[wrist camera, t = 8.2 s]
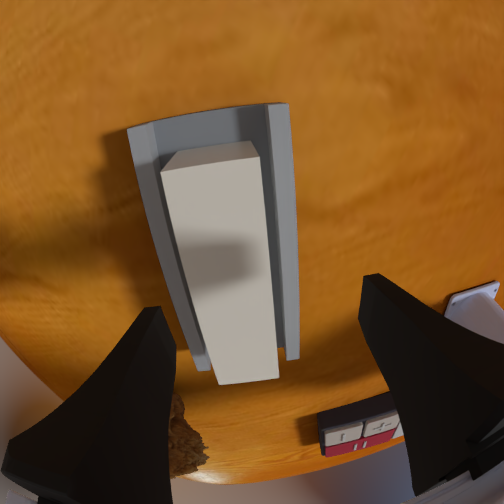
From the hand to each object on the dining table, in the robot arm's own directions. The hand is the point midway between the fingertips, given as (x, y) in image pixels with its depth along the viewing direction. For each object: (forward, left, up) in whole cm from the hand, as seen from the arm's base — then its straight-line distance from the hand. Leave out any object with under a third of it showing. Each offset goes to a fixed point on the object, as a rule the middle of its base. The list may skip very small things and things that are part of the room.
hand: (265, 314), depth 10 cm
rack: (-3, +1, -9) cm, 10 cm away
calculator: (-31, -13, -10) cm, 36 cm away
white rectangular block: (-3, +1, -8) cm, 9 cm away
